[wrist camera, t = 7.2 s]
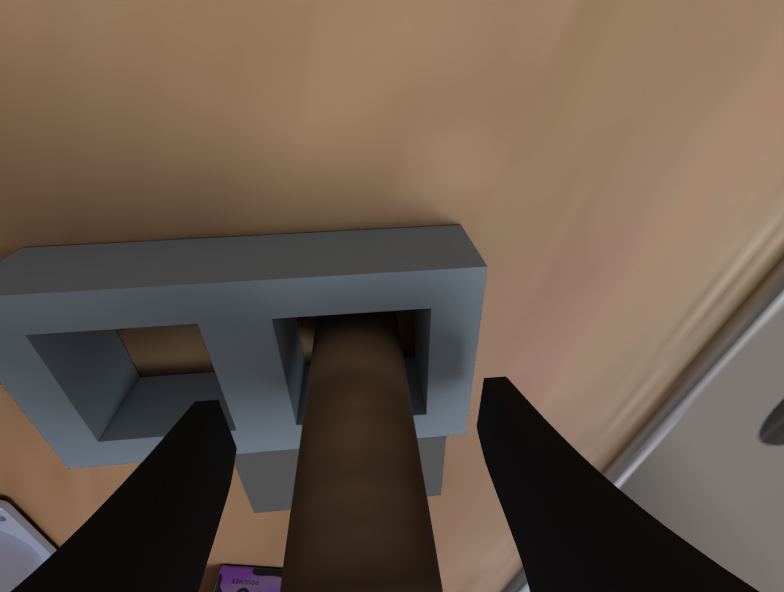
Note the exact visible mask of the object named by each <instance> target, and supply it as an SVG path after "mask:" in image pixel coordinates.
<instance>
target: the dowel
mask: <svg viewBox="0 0 784 592" xmlns="http://www.w3.org/2000/svg"><path fill="white" fill-rule="evenodd" d="M442 591H443V590H442V584H441V578H440V572H439V566H438V560H437V554H436V548H435V542H434V536H433V530H432V524H431V518H430V512H429V506H428V500H427V494H426V488H425V482H424V476H423V471H422V465H421V459H420V453H419V447H418V441H417V435H416V429H415V423H414V417H413V411H412V405H411V399H410V393H409V387H408V381H407V375H406V369H405V363H404V357H403V351H402V345H401V339H400V333H399V327H398V321H397V315H396V311H383V312H368V313H352V314H337V315H322V316H317V320H316V327H315V335H314V342H313V349H312V357H311V364H310V372H309V379H308V386H307V394H306V401H305V409H304V416H303V423H302V431H301V438H300V446H299V453H298V461H297V468H296V475H295V483H294V490H293V498H292V505H291V512H290V520H289V527H288V535H287V542H286V549H285V557H284V564H283V572H282V579H281V587H280V592H442Z"/></svg>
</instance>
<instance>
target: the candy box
mask: <svg viewBox="0 0 784 592" xmlns="http://www.w3.org/2000/svg"><path fill="white" fill-rule="evenodd" d="M282 572H283V569H271V568H258V567H245V566H226V565H223V566H222V567H221V568H220V571H219V574H218V577H217V580H216V584H215V588H214V591H213V592H280V587H281V579H282Z"/></svg>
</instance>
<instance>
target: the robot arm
mask: <svg viewBox="0 0 784 592" xmlns="http://www.w3.org/2000/svg"><path fill="white" fill-rule="evenodd" d="M477 430H478V434H479V439H480V443H481V447H482V451H483V455H484V458H485V462H486V465H487V468H488V471H489V474H490V476H491V479H492V482H493V484H494V487H495V490H496V493H497V495H498V498H499V501H500V503H501V506H502V509H503V511H504V514H505V517H506V519H507V522H508V525H509V527H510V530H511V533H512V535H513V538H514V541H515V543H516V546H517V549H518V552H519V555H520V558H521V561H522V564H523V567H524V571H525V574H526V578H527V581H528V585H529V589H530V592H759V591H758V590H756V589H754V588H753V587H752V586H750V585H748V584H747V583H745V582H744V581H742V580H741V579H739V578H738V577H736V576H735V575H733V574H732V573H730V572H729V571H727V570H726V569H724V568H723V567H721V566H720V565H718V564H717V563H716V562H714V561H713V560H711V559H710V558H708V557H707V556H706V555H704V554H703V553H701V552H700V551H699V550H697V549H696V548H694V547H693V546H692V545H691V544H689V543H688V542H686V541H685V540H684V539H682V538H681V537H679V536H678V535H676V534H675V533H674V532H673V531H671V530H670V529H668V528H667V527H666V526H664V525H663V524H662V523H660V522H659V521H658V520H656V519H655V518H654V517H653V516H651V515H650V514H648V512H646V511H645V510H644V509H642V508H641V507H640V506H639V505H637V504H636V503H635V502H634V501H633V500H631V499H630V498H629V497H628V496H627V495H625V494H624V493H623V492H622V491H620V490H619V489H618V488H617V487H616V486H615V485H614V484H612V483H611V482H610V481H609V480H608V479H607V478H606V477H604V476H603V475H602V474H601V473H600V472H599V471H598V470H597V469H596V468H594V467H593V466H592V465H591V464H590V463H589V462H588V461H587V460H586V459H585V458H584V457H583V456H581V455H580V454H579V453H578V452H577V451H576V450H575V449H574V448H573V447H572V446H571V445H570V444H569V443H568V442H567V441H566V440H565V439H564V438H563V437H562V436H561V435H560V434H559V433H558V432H557V431H556V430H555V429H554V428H553V427H552V426H551V425H550V424H549V423H548V422H547V421H546V420H545V419H544V418H543V416H542V415H541V414H540V413H539V412H538V411H537V410H536V409H535V408H534V407H533V406H532V405H531V404H530V402H529V401H528V400H527V399H526V398H525V397H524V396H523V395H522V394H521V393H520V391H519V390H518V389H517V388H516V387H515V386H514V385H513V384H512V383H511V381H510V380H509V379H508V378H507V377H494V378H484V382H483V389H482V395H481V402H480V409H479V415H478V422H477ZM236 451H237V447H236V444H235V442H234V439H233V436H232V434H231V431H230V428H229V426H228V423H227V421H226V418H225V415H224V413H223V410H222V407H221V405H220V402H219V400H207V401H195V402H194V403H193V404H192V405H191V407H190V408H189V409H188V410H187V411H186V412H185V413H184V415H183V416H182V417H181V418H180V419H179V420H178V421H177V423H176V424H175V425H174V426H173V427H172V428H171V430H170V431H169V432H168V433H167V434H166V435H165V437H164V438H163V439H162V440H161V441H160V442H159V444H158V445H157V446H156V447H155V448H154V449H153V450H152V452H151V453H150V454H149V455H148V456H147V457H146V458H145V459H144V461H143V462H142V463H141V464H140V465H139V466H138V467H137V468H136V469H135V471H134V472H133V473H132V474H131V475H130V476H129V477H128V478H127V479H126V481H125V482H124V483H123V484H122V485H121V486H120V487H119V488H118V489H117V490H116V491H115V492H114V493H113V494H112V495H111V496H110V497H109V498H108V500H107V501H106V502H105V503H104V504H103V505H102V506H101V507H100V508H99V509H98V510H97V511H96V512H95V513H94V514H93V515H92V516H91V517H90V518H89V519H88V520H87V521H86V522H85V523H84V524H83V525H82V526H81V527H80V528H79V529H78V530H77V531H76V532H75V533H74V534H73V535H72V536H71V537H70V538H69V539H68V540H67V541H66V542H65V543H64V544H63V545H62V546H61V547H60V548H58V549H57V550H56V549H55V548H54V547H53V546H52V545H51V544H50V543H49V542H48V541H47V540H46V539H45V538H44V537H43V536H42V535H41V534H40V533H39V532H38V531H37V530H36V529H35V528H34V527H33V526H32V525H31V524H30V523H29V522H28V521H27V520H26V519H25V518H24V517H23V516H22V515H21V514H20V513H19V512H18V511H17V510H16V509H15V508H14V507H13V506H12V505H11V504H10V503H8V502H7V501H4V500H0V592H199V588H200V584H201V581H202V578H203V574H204V571H205V568H206V565H207V561H208V558H209V555H210V552H211V548H212V545H213V542H214V539H215V535H216V532H217V529H218V526H219V522H220V519H221V516H222V512H223V509H224V506H225V502H226V499H227V496H228V492H229V489H230V484H231V479H232V474H233V469H234V463H235V457H236Z"/></svg>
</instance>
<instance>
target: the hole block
mask: <svg viewBox="0 0 784 592" xmlns="http://www.w3.org/2000/svg"><path fill="white" fill-rule="evenodd" d="M486 274H487V265H486V264H485V262H484V260H483V259H482V257H481V256H480V254H479V252H478V251H477V249H476V248H475V246H474V245H473V243H472V241H471V240H470V238H469V237H468V235H467V233H466V232H465V230H464V229H463V227H462V226H461V225H447V226H428V227H409V228H390V229H371V230H352V231H333V232H313V233H294V234H275V235H256V236H237V237H218V238H199V239H180V240H161V241H141V242H122V243H103V244H84V245H65V246H46V247H27V248H21V249H19V250H17V251H16V252H14V253H12V254H11V255H9V256H7V257H6V258H4V259H2V260H0V383H1V384H2V386H3V387H4V388H5V389H6V391H7V392H8V393H9V394H10V396H11V397H12V398H13V399H14V401H15V402H16V403H17V405H18V406H19V407H20V408H21V410H22V411H23V412H24V413H25V415H26V416H27V417H28V418H29V420H30V421H31V422H32V423H33V425H34V426H35V427H36V429H37V430H38V431H39V432H40V434H41V435H42V436H43V437H44V439H45V440H46V441H47V442H48V444H49V445H50V446H51V447H52V449H53V450H54V451H55V453H56V454H57V455H58V456H59V458H60V459H61V460H62V461H63V463H64V464H65V465H66V466H67V468H68V469H71V468H82V467H94V466H105V465H117V464H128V463H139V462H143V461H144V459H145V458H146V457H147V456H148V455H149V454H150V453H151V452H152V450H153V449H154V448H155V447H156V446H157V445H158V444H159V442H160V441H161V440H162V439H163V438H164V437H165V435H166V434H167V433H168V432H169V431H170V430H171V428H172V427H173V426H174V425H175V424H176V423H177V421H178V420H179V419H180V418H181V417H182V416H183V415H184V413H185V412H186V411H187V410H188V409H189V408H190V407H191V405H192V404H193V403H194V402H195V401H207V400H219V402H220V405H221V407H222V410H223V413H224V415H225V418H226V421H227V423H228V426H229V428H230V431H231V434H232V436H233V439H234V442H235V444H236V447H237V451H236V454H242V453H254V452H265V451H277V450H288V449H299V446H300V438H301V431H302V423H303V416H304V409H305V401H306V394H307V386H308V379H309V372H310V365H305V361H304V356H303V350H302V345H301V340H300V334H299V329H298V324H297V319H296V317H307V316H322V315H337V314H352V313H368V312H383V311H398V310H413V309H416V312H415V357H409V358H404V363H405V369H406V375H407V381H408V387H409V393H410V399H411V405H412V411H413V417H414V423H415V429H416V435H417V438H426V437H437V436H449V435H460V434H466V428H467V420H468V412H469V405H470V397H471V389H472V382H473V374H474V366H475V359H476V351H477V343H478V336H479V328H480V320H481V312H482V305H483V297H484V289H485V282H486ZM186 324H198V326H199V329H200V331H201V334H202V337H203V340H204V342H205V345H206V348H207V351H208V353H209V356H210V359H211V362H212V364H213V367H214V370H215V372H206V373H193V374H179V375H165V376H152V377H140V376H139V374H138V372H137V370H136V368H135V366H134V365H133V363H132V361H131V359H130V357H129V355H128V353H127V351H126V349H125V347H124V345H123V343H122V341H121V339H120V337H119V335H118V333H117V331H116V329H125V328H140V327H155V326H170V325H186Z"/></svg>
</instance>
